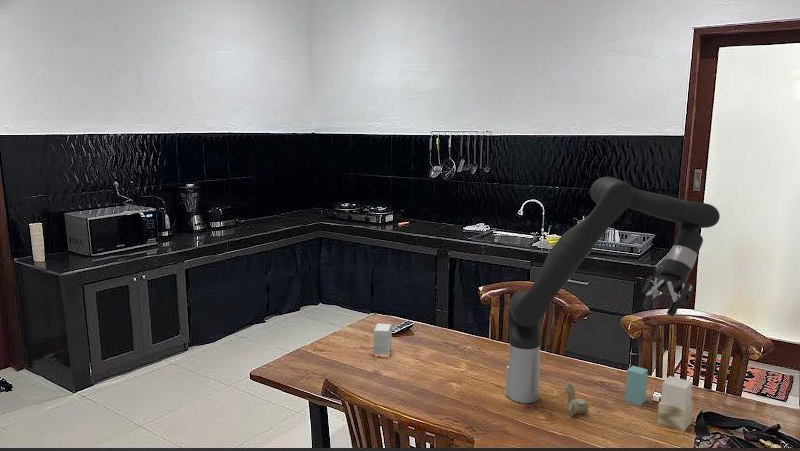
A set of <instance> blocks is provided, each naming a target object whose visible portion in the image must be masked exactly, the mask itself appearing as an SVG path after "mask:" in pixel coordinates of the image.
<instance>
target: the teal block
mask: <svg viewBox="0 0 800 451" xmlns="http://www.w3.org/2000/svg"><path fill="white" fill-rule="evenodd" d="M648 372H649V371H648V369H646V368H644V367H640V366H635V365H631V367H629V368H627V370H626V379H625V380H626V382H625V383H626V384H625V399H624V400H625V402H626V403H630V404H632V405H635V406H640V407H641V406H642V405H643V404H644V403H645V402H646V401H647V389H648V388H647V387H648V384H647V383H648Z"/></svg>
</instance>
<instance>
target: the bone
mask: <svg viewBox="0 0 800 451" xmlns="http://www.w3.org/2000/svg"><path fill="white" fill-rule="evenodd" d="M565 393H566V394H567V411H568V413H569V414H570V415H569V417H573V416H575V415H578V414H584V415H585V414H587V413H590V409H589V407H590V404H588V402H587V401H585V400H584V399H583V398H577V399H575V394H576V391H575V387H574V386H573V384H571V383H570V382H567V383H566V387H565Z"/></svg>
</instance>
